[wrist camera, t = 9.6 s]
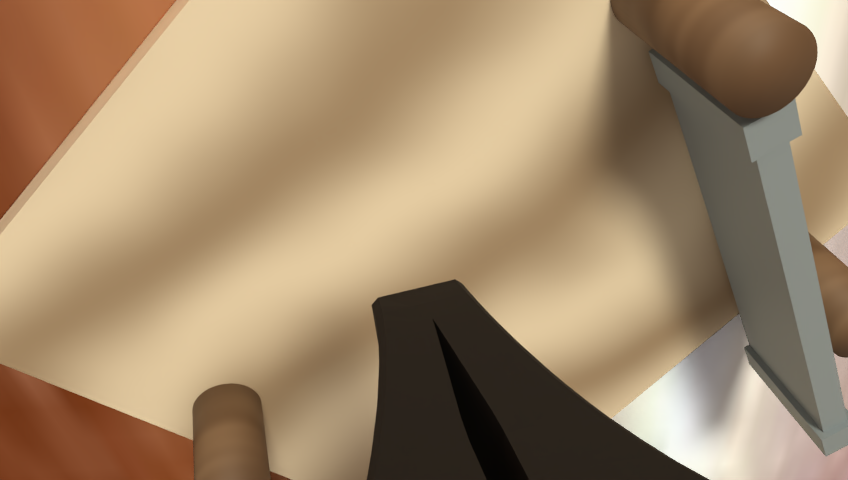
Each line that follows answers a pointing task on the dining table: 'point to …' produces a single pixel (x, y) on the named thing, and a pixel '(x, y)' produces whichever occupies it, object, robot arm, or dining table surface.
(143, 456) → the dining table surface
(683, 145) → the beige base plate
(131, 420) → the dining table surface
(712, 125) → the grey flat bar
